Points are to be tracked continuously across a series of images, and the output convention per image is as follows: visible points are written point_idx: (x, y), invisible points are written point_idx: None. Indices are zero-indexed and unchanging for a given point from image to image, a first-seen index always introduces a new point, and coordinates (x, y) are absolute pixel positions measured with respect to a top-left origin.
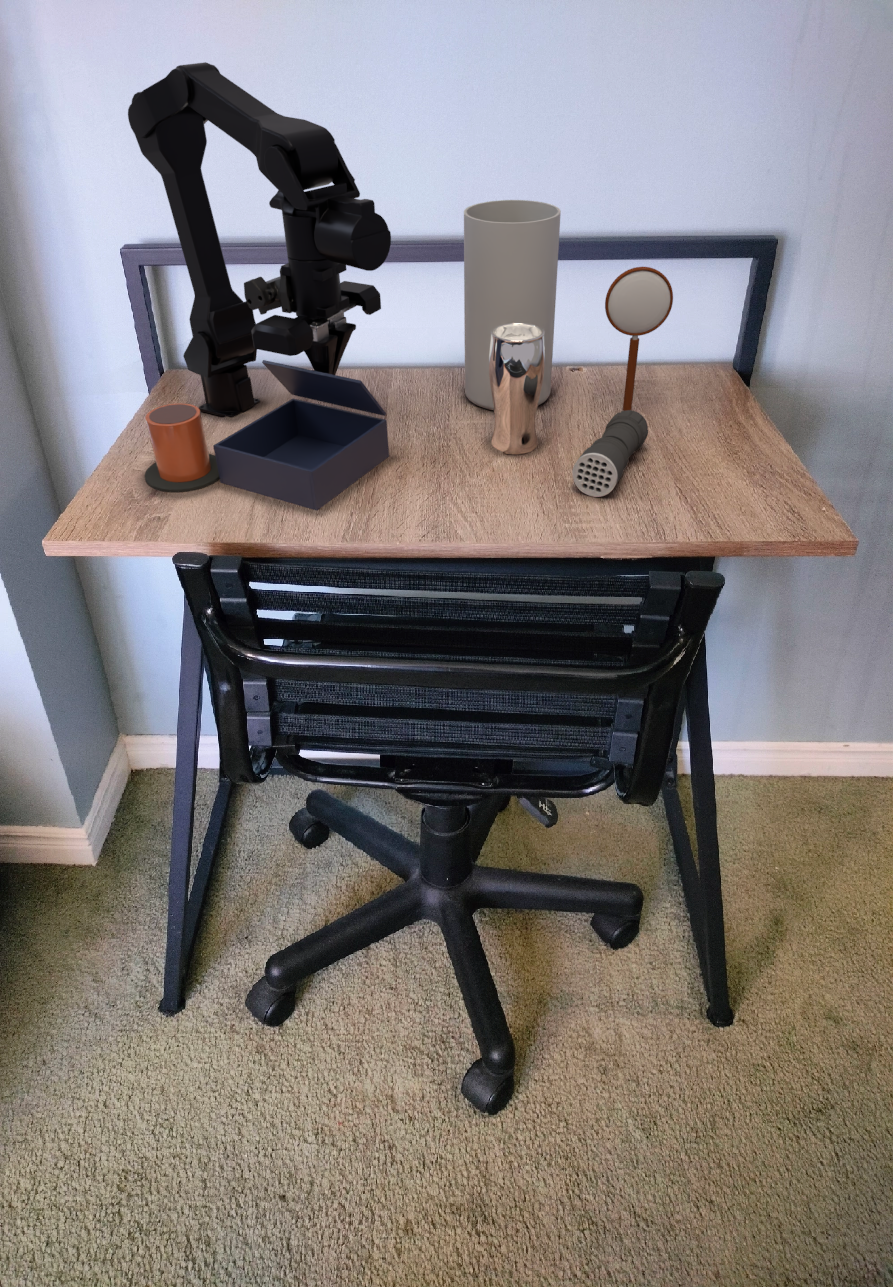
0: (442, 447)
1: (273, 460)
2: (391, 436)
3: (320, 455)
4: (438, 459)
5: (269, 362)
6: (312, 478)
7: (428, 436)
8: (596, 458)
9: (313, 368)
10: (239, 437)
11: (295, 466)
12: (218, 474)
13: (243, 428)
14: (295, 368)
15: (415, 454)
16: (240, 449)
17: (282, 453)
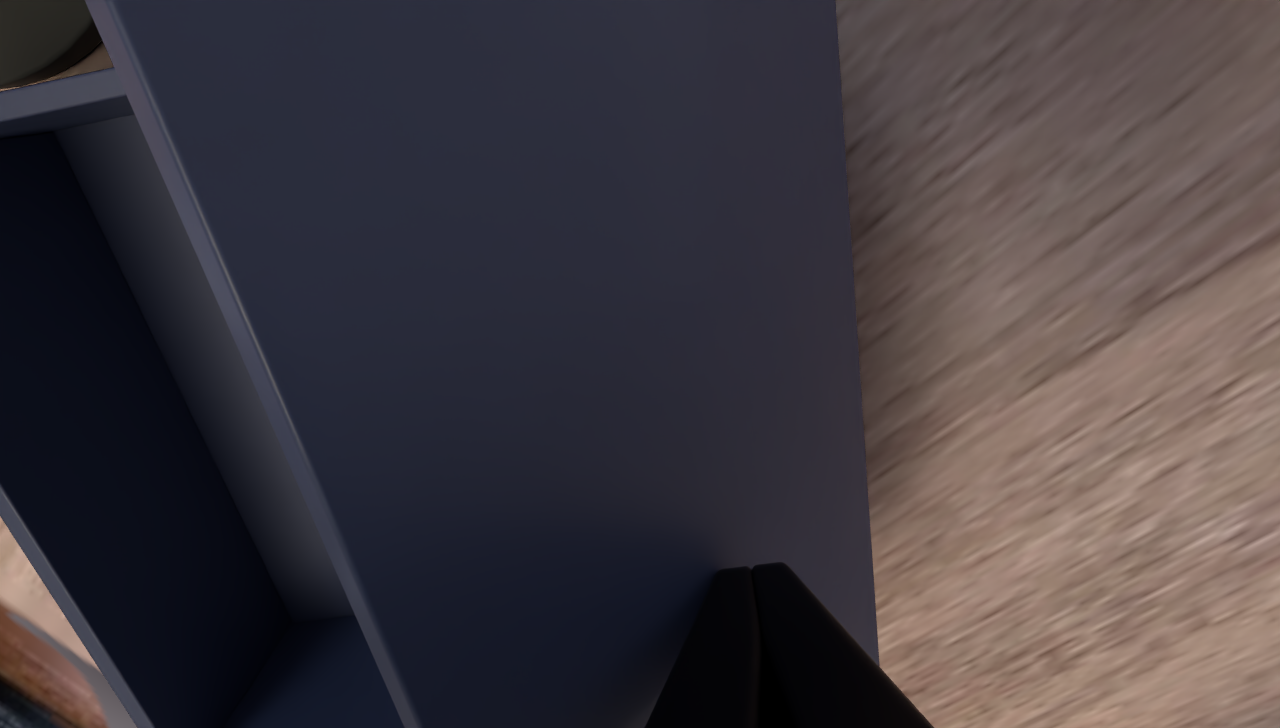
0: (1041, 654)
1: (65, 602)
2: (1042, 425)
3: None
4: (929, 697)
5: (159, 144)
6: None
7: (1123, 556)
8: None
9: (651, 719)
10: (58, 113)
11: (138, 716)
12: (28, 52)
13: (85, 91)
14: (387, 672)
15: (921, 612)
16: (115, 109)
17: None
